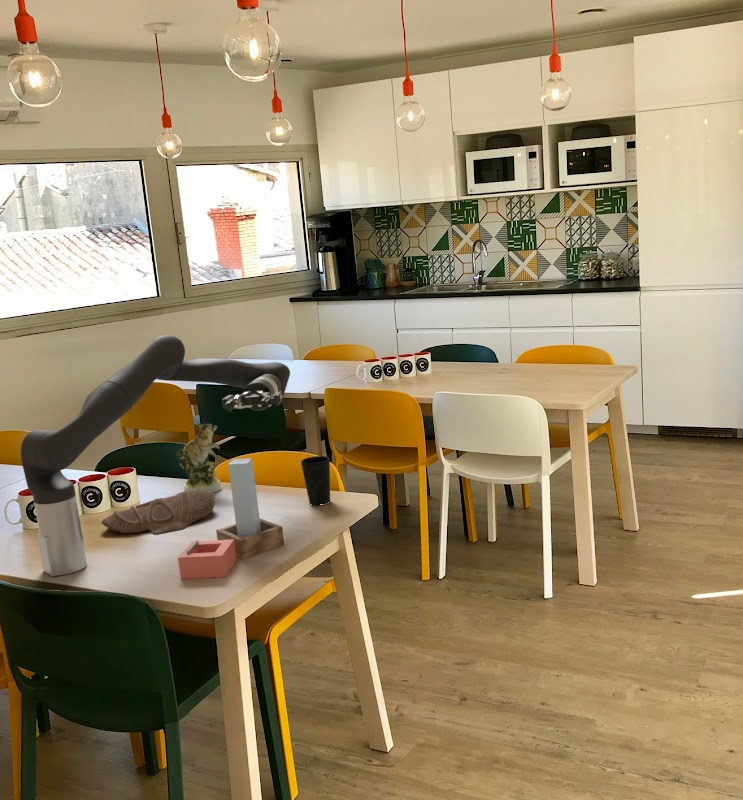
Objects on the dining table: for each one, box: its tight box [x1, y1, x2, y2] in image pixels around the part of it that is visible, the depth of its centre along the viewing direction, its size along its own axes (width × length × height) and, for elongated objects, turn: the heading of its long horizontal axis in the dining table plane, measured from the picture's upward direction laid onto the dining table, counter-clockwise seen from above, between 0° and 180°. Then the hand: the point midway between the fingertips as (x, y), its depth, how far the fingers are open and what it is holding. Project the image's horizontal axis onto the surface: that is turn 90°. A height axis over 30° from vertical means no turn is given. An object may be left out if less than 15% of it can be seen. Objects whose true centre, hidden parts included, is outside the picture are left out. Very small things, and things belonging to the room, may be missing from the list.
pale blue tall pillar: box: [227, 457, 261, 538], centre depth 215 cm, size 4×4×20 cm
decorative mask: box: [100, 490, 215, 536], centre depth 243 cm, size 23×7×30 cm
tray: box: [215, 518, 285, 560], centre depth 216 cm, size 11×11×4 cm
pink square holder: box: [177, 539, 238, 580], centre depth 204 cm, size 10×10×6 cm
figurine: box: [175, 423, 223, 494], centre depth 267 cm, size 12×14×20 cm
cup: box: [300, 455, 331, 505], centre depth 245 cm, size 8×8×12 cm
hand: (245, 406), depth 221 cm, fingers open, 8 cm apart
